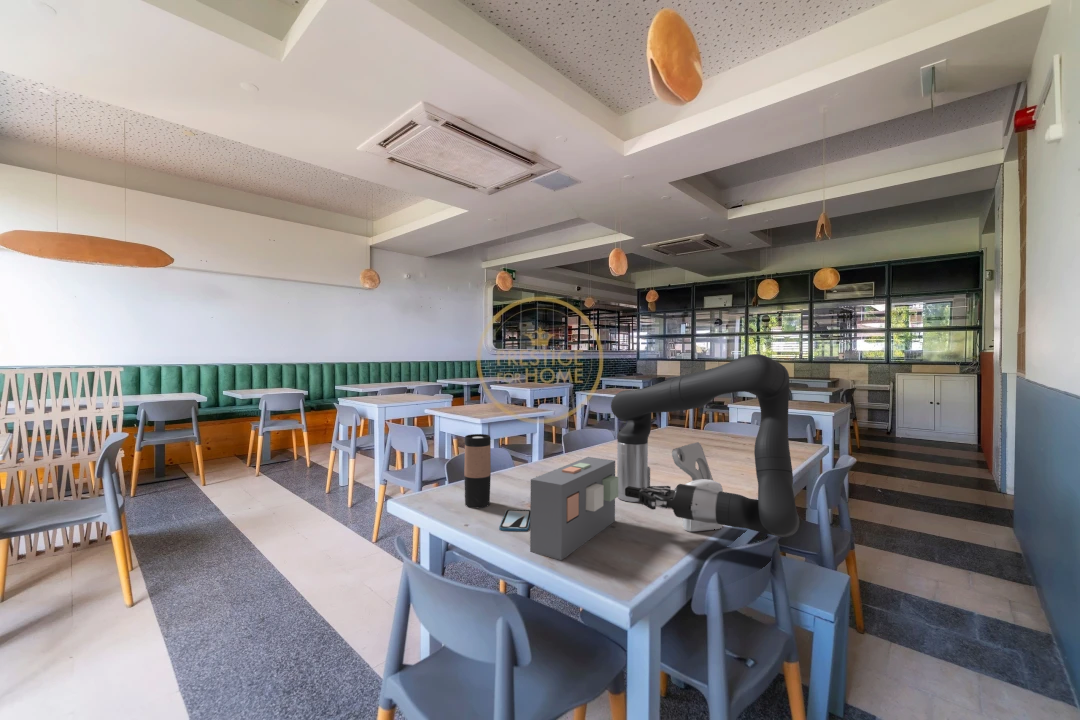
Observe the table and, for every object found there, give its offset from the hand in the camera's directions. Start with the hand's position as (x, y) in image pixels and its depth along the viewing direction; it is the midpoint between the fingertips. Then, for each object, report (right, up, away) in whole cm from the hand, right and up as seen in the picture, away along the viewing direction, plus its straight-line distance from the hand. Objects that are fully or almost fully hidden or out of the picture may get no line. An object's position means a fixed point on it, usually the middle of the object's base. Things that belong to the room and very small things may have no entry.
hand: (626, 490), depth 111 cm
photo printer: (+20, -10, +2) cm, 22 cm away
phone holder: (+25, -10, +17) cm, 32 cm away
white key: (-9, -2, -5) cm, 11 cm away
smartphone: (-28, -10, +7) cm, 30 cm away
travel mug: (-40, -10, +20) cm, 46 cm away
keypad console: (-13, -10, -3) cm, 16 cm away
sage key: (-5, -2, +3) cm, 6 cm away
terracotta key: (-16, -2, -11) cm, 20 cm away
